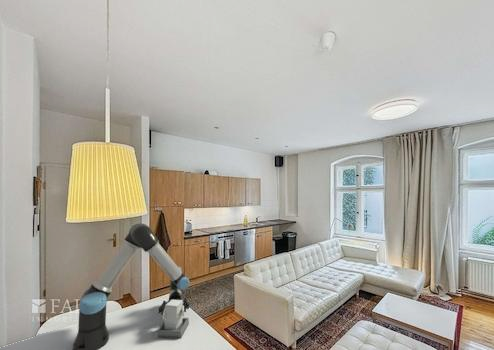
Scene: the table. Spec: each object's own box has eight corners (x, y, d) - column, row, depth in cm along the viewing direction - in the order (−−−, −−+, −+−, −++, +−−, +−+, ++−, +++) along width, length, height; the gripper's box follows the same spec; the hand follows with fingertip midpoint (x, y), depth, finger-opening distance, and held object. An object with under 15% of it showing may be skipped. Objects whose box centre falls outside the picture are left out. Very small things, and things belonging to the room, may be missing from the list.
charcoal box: (157, 337, 118) (157, 330, 119) (167, 323, 131) (167, 317, 132) (180, 338, 118) (180, 331, 118) (188, 324, 131) (188, 317, 131)
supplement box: (176, 330, 120) (176, 306, 122) (164, 329, 122) (164, 305, 123) (182, 322, 128) (183, 299, 129) (171, 321, 129) (171, 298, 130)
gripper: (192, 301, 145) (194, 319, 124) (156, 306, 139) (151, 326, 118) (192, 289, 146) (194, 305, 125) (156, 293, 140) (151, 311, 119)
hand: (173, 315), depth 121 cm, fingers closed on supplement box, 9 cm apart
